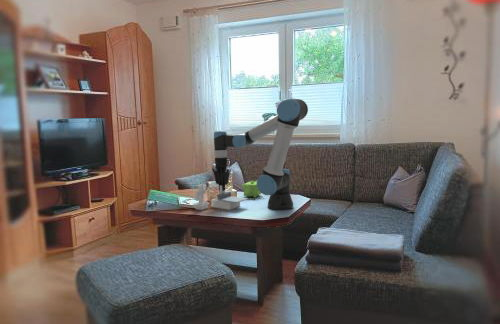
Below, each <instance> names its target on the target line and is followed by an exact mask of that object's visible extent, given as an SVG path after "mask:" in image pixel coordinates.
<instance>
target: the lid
mask: <svg viewBox="0 0 500 324" xmlns="http://www.w3.org/2000/svg"><path fill="white" fill-rule="evenodd" d="M217 198H218V200H219V201H226V202H233V203H239V202H240V203H241V202H244V201H246V200H249V197H240V196H234V195H233V196H232V192H231V191H227V192H225V193H223V194H220V193H219V194H217Z"/></svg>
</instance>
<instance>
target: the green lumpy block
mask: <svg viewBox="0 0 500 324" xmlns="http://www.w3.org/2000/svg"><path fill="white" fill-rule="evenodd" d="M241 188H242V189H243V197H246V198H250V197H253V198H257V197H259V196H260V195H261V194H262V193H261V192H260V191H259V190H258V188H257V180H255V181H254V180H250V181H248V182H246V183H243V184H241Z"/></svg>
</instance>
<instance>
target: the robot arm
mask: <svg viewBox="0 0 500 324" xmlns="http://www.w3.org/2000/svg"><path fill="white" fill-rule="evenodd" d="M308 112H309V106H308V104H307V103H306V102H305V101H304V100H303V99H299V98H293V97H288V98H285V99H282V100H281V101H280V102H279V103H278V104H277V107H276V115H275V116H273V117H271V118H268V119H267V120H266V121H264V122H262V123H260V124H258V125H255V127H253V128H251V129H249V130H248V131H245V132H243V133H236V134H235V133H233V134H232V133H231V134H229V133H227V131H226V130H218V131H217V130H216V131H214V132H213V144H214V149H213V150H214V164H215V166H214V167H213V168H212V169H211V170H212V172H213V175H214V181H215V184H216V185H218V190H219V195H220V194H223V193H226V192H225V191H226V185H228V184H229V179H230V173H231V171H232V169H231V168H229V166H228V148H244V147H247V146H251V145H253V143H255V142H256V141H258V140H260V139H262V138H264V137H266V136H268V135H271V134H272V133H273V132H275V131H276V134H275V136H274V141H273V144H272V147H271V151H270V154H269V157H268V158H269V159H268V162H267V165H266V166H265V167H263V170H262V172H261V175H259V177H258V178H257V180H256V181H257V188H258V190H259V191H260V192H261V194H262V195H264V196H269V199H268V201H267V208H268V209H269V210H270V209H271V210H275V211H276V210H277V211H284V209H287V210H291V209H293V208H294V202H293V198H292V196H291V195H292V194H291V171H290V169H288V168H284V165H285V162H286V158H287V155H288V151H289V148H290V144H291V141H292V137H293V134H294V131H295V129H296V128H298V126H299V124H300V121H302V120H303V119H305V118H306V117H307V114H308ZM292 207H293V208H292ZM290 208H291V209H290Z"/></svg>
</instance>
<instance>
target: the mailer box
mask: <svg viewBox="0 0 500 324" xmlns="http://www.w3.org/2000/svg"><path fill="white" fill-rule="evenodd" d="M210 201H211V203H210V204H211V208H216V209H223V210H234V209H237V208H239V207H241V202H239V203H233V202H226V201H219V200H218V197H216V198H212V199H210Z"/></svg>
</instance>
